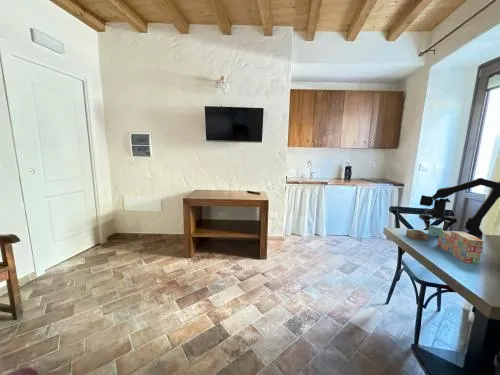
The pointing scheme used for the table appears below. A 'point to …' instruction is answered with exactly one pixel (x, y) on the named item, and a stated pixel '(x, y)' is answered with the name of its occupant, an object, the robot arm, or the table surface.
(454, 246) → the stack of blocks
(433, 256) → the table surface
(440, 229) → the teal block
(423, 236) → the walnut base block
